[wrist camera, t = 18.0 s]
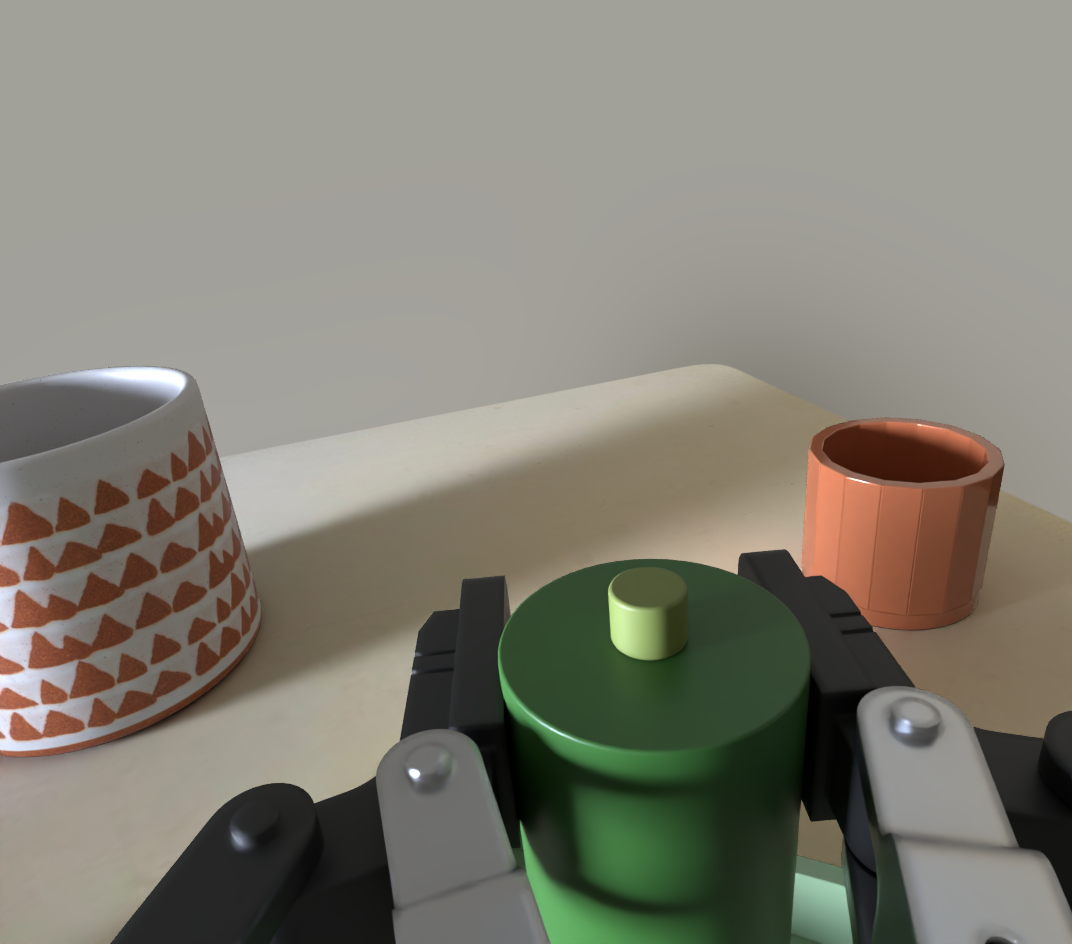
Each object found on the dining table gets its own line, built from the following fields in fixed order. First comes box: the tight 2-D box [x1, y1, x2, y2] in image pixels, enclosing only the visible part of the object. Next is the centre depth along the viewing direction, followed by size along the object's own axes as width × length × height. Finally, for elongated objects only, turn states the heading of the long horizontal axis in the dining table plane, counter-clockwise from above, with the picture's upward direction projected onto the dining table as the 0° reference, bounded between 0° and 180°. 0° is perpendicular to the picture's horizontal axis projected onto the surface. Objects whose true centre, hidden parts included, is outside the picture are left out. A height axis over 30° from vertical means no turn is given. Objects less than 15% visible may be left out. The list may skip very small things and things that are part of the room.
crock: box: [802, 418, 1004, 630], centre depth 36 cm, size 8×8×7 cm
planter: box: [0, 366, 262, 757], centre depth 35 cm, size 14×14×13 cm
